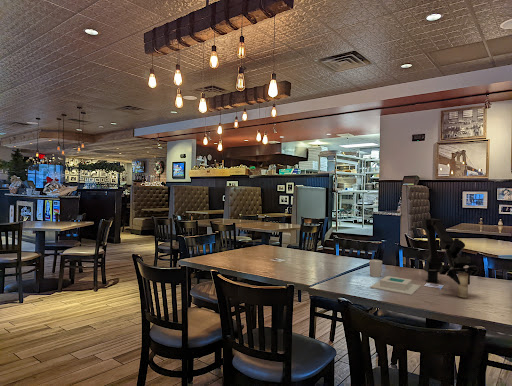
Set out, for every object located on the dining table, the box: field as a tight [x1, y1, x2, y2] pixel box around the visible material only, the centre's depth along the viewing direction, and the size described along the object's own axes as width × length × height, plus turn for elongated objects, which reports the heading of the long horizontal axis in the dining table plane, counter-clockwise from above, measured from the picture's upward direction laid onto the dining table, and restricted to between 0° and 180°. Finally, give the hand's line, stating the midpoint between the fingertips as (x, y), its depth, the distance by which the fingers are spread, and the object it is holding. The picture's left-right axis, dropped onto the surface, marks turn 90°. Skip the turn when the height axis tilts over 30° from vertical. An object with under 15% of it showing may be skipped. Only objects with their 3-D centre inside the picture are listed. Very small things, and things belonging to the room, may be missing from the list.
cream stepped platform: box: [369, 275, 422, 296], centre depth 202 cm, size 24×22×4 cm
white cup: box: [369, 259, 383, 278], centre depth 229 cm, size 8×8×10 cm
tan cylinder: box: [457, 272, 469, 298], centre depth 184 cm, size 5×5×12 cm
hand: (464, 284), depth 183 cm, fingers closed on tan cylinder, 5 cm apart
